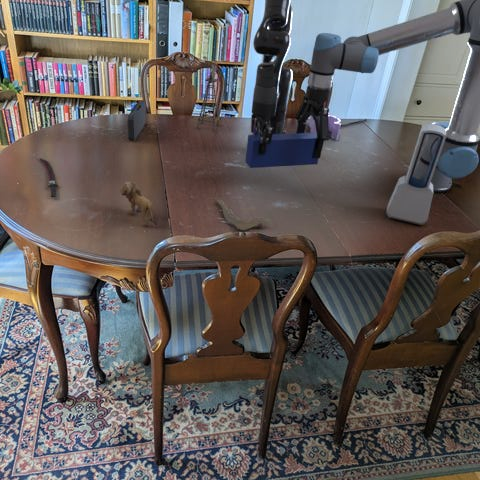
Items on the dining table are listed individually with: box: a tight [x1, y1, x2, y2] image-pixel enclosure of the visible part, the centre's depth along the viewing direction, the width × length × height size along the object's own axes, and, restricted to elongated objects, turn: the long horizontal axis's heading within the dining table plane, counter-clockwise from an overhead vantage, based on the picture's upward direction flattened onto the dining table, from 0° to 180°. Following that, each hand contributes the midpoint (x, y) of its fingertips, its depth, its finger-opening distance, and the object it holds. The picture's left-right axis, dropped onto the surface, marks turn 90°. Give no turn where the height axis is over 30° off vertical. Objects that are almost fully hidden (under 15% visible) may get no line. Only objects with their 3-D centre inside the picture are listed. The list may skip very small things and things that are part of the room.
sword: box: [40, 158, 59, 198], centre depth 151 cm, size 31×3×1 cm, turn 26°
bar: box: [245, 132, 319, 169], centre depth 156 cm, size 25×5×10 cm, turn 109°
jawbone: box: [216, 198, 270, 232], centre depth 140 cm, size 9×20×2 cm, turn 50°
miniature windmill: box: [196, 55, 220, 132], centre depth 197 cm, size 9×8×30 cm
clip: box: [308, 113, 342, 141], centre depth 212 cm, size 20×12×7 cm, turn 11°
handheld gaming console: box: [127, 99, 147, 141], centre depth 190 cm, size 23×3×10 cm, turn 178°
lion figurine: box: [119, 181, 159, 227], centre depth 134 cm, size 15×5×9 cm, turn 50°
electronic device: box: [386, 123, 446, 226], centre depth 142 cm, size 12×8×30 cm, turn 71°
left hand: (258, 150), depth 153 cm, fingers closed on bar, 5 cm apart
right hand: (307, 149), depth 159 cm, fingers open, 13 cm apart
